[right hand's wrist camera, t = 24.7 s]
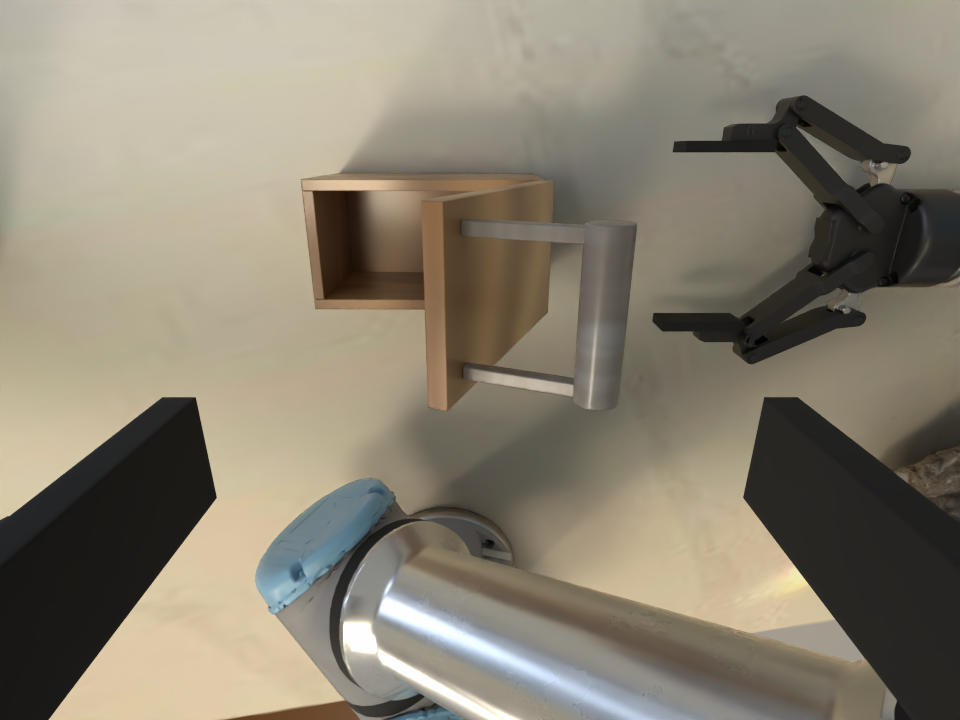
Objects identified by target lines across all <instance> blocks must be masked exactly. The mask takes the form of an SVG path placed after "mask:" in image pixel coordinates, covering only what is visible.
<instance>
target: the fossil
mask: <svg viewBox="0 0 960 720" xmlns="http://www.w3.org/2000/svg"><path fill="white" fill-rule="evenodd" d="M893 472H894V473H895V474H897V475H898V476H899V477H901V478H902V479H903V480H904V481H906V482H907V483H908V484H910V485H911V486H912V487H913V488H915V489H916V490H917V491H919V492H920V493H921V494H922V495H924V496H925V497H926V498H928V499H929V500H930V501H931V502H933V503H934V504H935V505H937V506H938V507H939V508H940V509H942V510H943V511H944V512H946V513H947V514H953V515H955V516H957V517H959V518H960V446H957V447H955V448H950V449H945V450H943V451H941V450H939V451H938V452H936V453H935V454H930V455H928V456H926V457H925V458H924V459H923V460H922V461H920V462H918V463H916V464H914V465H905V466H903V467H901V468H900V469H897V470H893Z"/></svg>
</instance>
